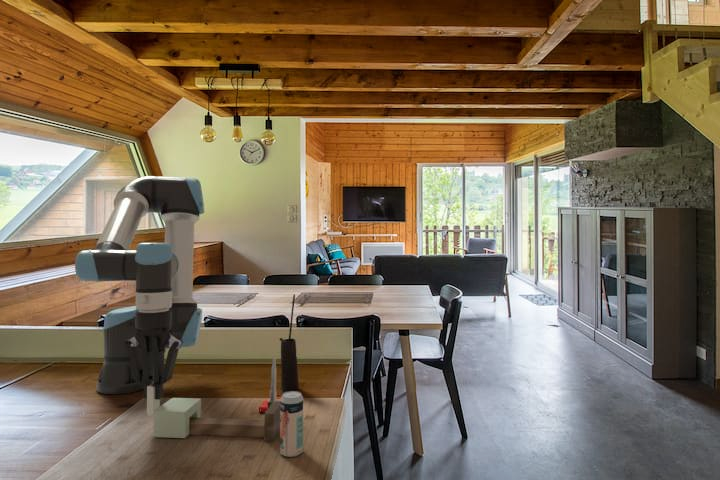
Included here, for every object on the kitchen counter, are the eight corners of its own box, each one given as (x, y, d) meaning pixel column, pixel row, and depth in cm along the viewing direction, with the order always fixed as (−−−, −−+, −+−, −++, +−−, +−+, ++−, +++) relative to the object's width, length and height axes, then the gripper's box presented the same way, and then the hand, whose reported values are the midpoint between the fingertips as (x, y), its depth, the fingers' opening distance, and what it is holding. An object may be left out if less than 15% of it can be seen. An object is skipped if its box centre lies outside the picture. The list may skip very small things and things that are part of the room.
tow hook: (268, 400, 119) (254, 413, 109) (270, 349, 119) (256, 357, 109) (300, 402, 117) (288, 415, 107) (301, 351, 118) (290, 359, 108)
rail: (153, 437, 95) (153, 410, 95) (169, 423, 102) (169, 398, 102) (273, 441, 93) (273, 414, 93) (281, 427, 100) (281, 401, 100)
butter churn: (263, 390, 125) (263, 294, 125) (286, 381, 133) (286, 290, 133) (286, 397, 120) (286, 296, 120) (308, 387, 127) (309, 293, 127)
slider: (154, 437, 95) (154, 411, 95) (172, 421, 103) (172, 397, 103) (185, 438, 94) (185, 412, 94) (200, 422, 102) (201, 398, 102)
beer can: (280, 447, 91) (281, 390, 91) (303, 446, 91) (304, 390, 91) (278, 459, 86) (278, 399, 86) (302, 458, 86) (302, 398, 86)
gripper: (116, 312, 95) (115, 418, 95) (173, 313, 94) (172, 420, 94) (136, 306, 103) (135, 405, 103) (189, 307, 102) (188, 407, 102)
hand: (153, 412), depth 99 cm, fingers closed
